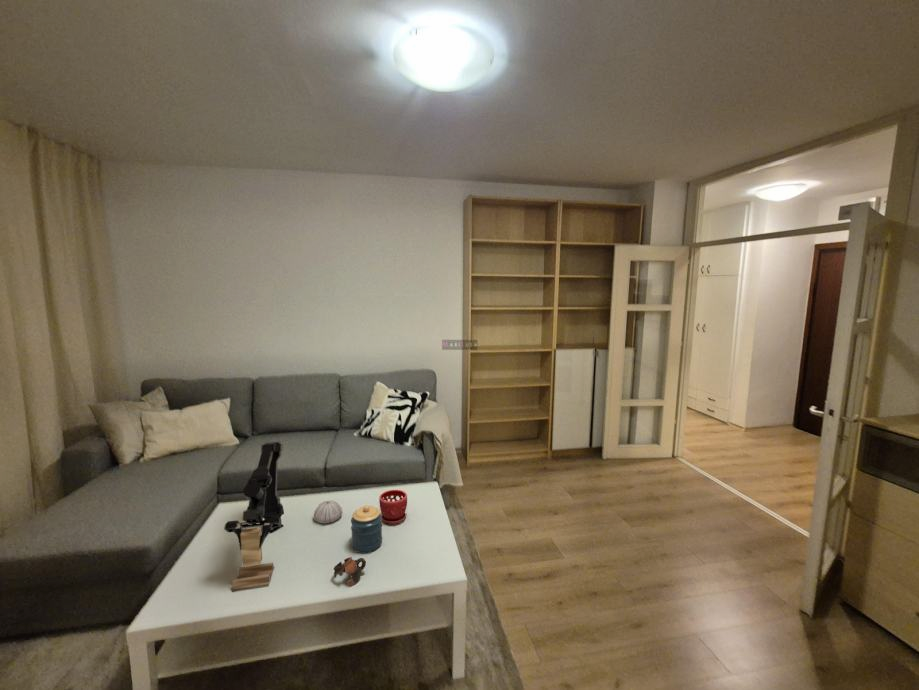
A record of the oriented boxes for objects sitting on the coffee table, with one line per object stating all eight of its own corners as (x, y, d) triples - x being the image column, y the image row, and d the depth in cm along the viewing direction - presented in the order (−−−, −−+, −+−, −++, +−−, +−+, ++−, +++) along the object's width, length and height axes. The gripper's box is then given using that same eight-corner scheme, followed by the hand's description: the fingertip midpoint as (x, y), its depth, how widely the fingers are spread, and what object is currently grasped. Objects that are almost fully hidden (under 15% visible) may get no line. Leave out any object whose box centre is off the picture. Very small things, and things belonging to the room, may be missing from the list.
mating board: (240, 572, 152) (240, 565, 152) (274, 567, 155) (273, 560, 155) (232, 591, 143) (232, 584, 142) (268, 586, 146) (268, 578, 145)
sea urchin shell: (307, 522, 187) (306, 506, 186) (327, 508, 199) (326, 493, 198) (329, 528, 181) (329, 512, 180) (348, 513, 194) (348, 498, 193)
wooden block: (244, 561, 149) (242, 529, 147) (262, 558, 150) (260, 527, 148) (242, 566, 146) (240, 534, 144) (260, 564, 147) (258, 531, 146)
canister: (388, 543, 171) (387, 505, 169) (362, 558, 162) (361, 518, 159) (370, 531, 180) (370, 494, 177) (345, 544, 170) (344, 506, 168)
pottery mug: (342, 593, 143) (333, 571, 144) (338, 588, 151) (329, 568, 152) (372, 572, 150) (363, 551, 151) (366, 568, 158) (357, 549, 159)
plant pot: (412, 516, 192) (412, 493, 191) (394, 529, 181) (394, 505, 180) (392, 508, 199) (392, 486, 197) (373, 520, 188) (373, 497, 186)
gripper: (224, 501, 147) (215, 547, 137) (278, 496, 151) (273, 540, 142) (232, 510, 155) (224, 554, 146) (283, 504, 160) (279, 547, 150)
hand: (250, 548), depth 146 cm, fingers closed on wooden block, 6 cm apart
